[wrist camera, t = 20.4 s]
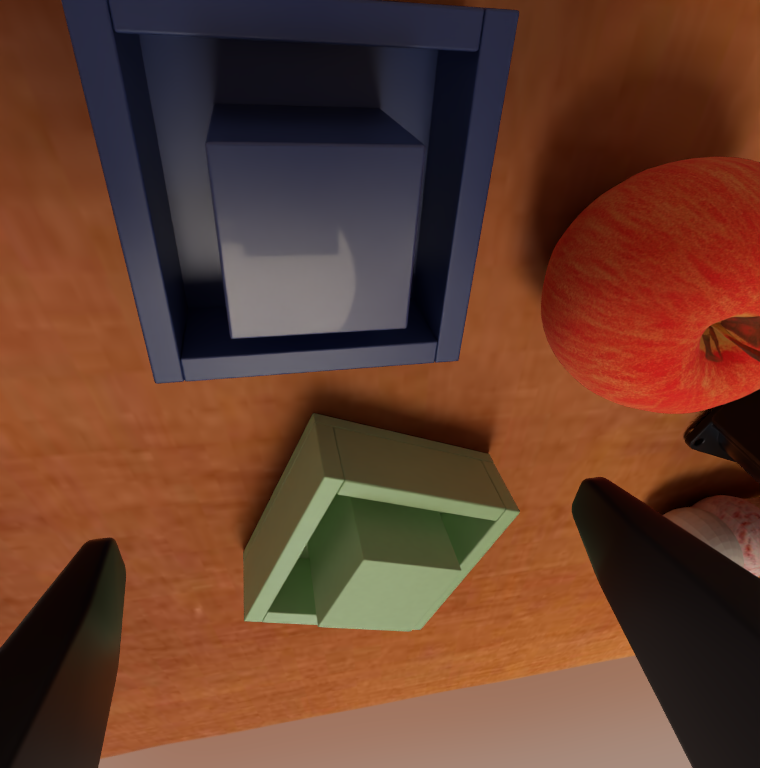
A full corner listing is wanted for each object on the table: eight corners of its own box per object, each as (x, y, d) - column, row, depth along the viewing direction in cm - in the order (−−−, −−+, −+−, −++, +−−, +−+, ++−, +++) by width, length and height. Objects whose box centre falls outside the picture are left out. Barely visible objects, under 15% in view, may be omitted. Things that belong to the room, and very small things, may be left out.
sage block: (430, 488, 25) (462, 570, 21) (388, 547, 27) (411, 632, 23) (344, 471, 23) (363, 559, 19) (306, 537, 25) (317, 627, 21)
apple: (750, 135, 18) (1021, 212, 12) (660, 335, 23) (819, 465, 17) (542, 126, 16) (729, 210, 10) (491, 344, 21) (597, 493, 15)
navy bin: (463, 6, 14) (520, 9, 11) (427, 307, 19) (458, 361, 17) (97, -20, 12) (55, -24, 9) (168, 321, 18) (154, 384, 15)
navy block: (381, 107, 15) (426, 145, 11) (373, 260, 17) (407, 329, 14) (212, 102, 14) (204, 141, 10) (231, 264, 16) (230, 340, 13)
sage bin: (489, 453, 25) (521, 512, 22) (403, 569, 29) (420, 630, 26) (312, 412, 21) (324, 476, 18) (243, 551, 25) (243, 621, 23)
